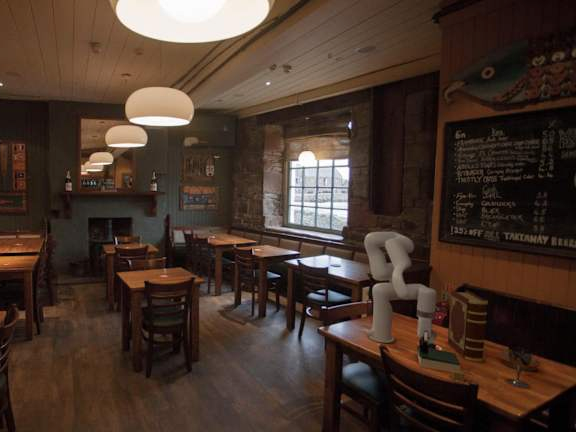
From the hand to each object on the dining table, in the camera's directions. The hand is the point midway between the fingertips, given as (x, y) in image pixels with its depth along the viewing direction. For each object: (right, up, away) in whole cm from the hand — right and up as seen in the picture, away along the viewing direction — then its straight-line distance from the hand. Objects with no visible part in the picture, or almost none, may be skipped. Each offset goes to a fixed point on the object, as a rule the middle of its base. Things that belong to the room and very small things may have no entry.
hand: (423, 350), depth 189 cm
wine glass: (+29, -8, -20) cm, 36 cm away
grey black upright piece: (+12, -5, +16) cm, 20 cm away
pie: (+44, -7, -3) cm, 45 cm away
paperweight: (+5, -7, -17) cm, 19 cm away
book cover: (+5, -2, -2) cm, 6 cm away
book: (+5, -6, -2) cm, 9 cm away
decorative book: (+29, -6, +12) cm, 32 cm away
